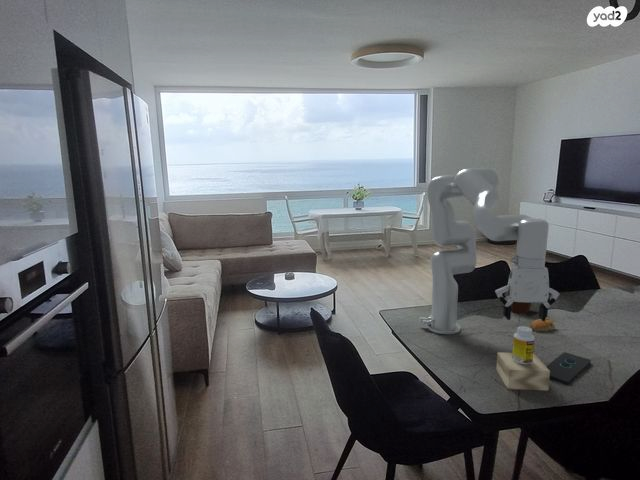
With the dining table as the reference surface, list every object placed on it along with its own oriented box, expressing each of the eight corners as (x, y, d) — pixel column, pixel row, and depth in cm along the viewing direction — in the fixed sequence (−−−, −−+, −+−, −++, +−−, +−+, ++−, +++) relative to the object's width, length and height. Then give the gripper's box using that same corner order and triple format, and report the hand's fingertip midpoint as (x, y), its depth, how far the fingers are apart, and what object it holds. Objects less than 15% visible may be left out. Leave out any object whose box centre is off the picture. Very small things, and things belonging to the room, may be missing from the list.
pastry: (540, 334, 154) (540, 325, 154) (524, 328, 160) (525, 319, 160) (556, 329, 158) (557, 320, 158) (540, 324, 164) (541, 315, 164)
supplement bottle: (526, 367, 117) (528, 333, 116) (508, 360, 122) (510, 327, 120) (536, 362, 120) (539, 329, 119) (518, 355, 125) (521, 323, 123)
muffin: (498, 309, 180) (500, 288, 179) (510, 304, 187) (511, 283, 186) (526, 317, 171) (527, 294, 170) (537, 310, 179) (539, 288, 177)
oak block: (508, 388, 117) (509, 369, 116) (496, 370, 128) (497, 352, 127) (548, 390, 116) (550, 371, 115) (533, 371, 127) (534, 353, 126)
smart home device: (592, 359, 131) (568, 381, 118) (591, 364, 131) (568, 387, 119) (563, 351, 137) (538, 371, 125) (563, 356, 138) (538, 376, 125)
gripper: (502, 265, 113) (497, 322, 117) (568, 266, 111) (561, 324, 115) (494, 258, 120) (489, 312, 124) (556, 259, 118) (550, 314, 122)
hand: (524, 318), depth 119 cm, fingers open, 9 cm apart
